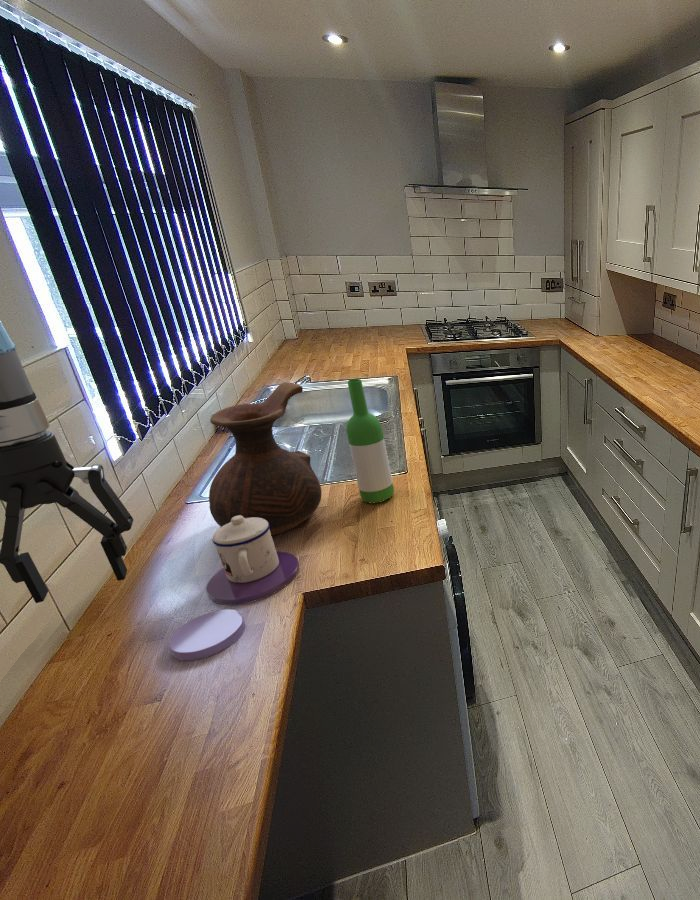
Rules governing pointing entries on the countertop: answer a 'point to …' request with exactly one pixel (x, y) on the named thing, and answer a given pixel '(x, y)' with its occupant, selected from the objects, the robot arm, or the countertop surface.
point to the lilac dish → (207, 634)
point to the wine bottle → (368, 449)
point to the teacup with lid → (246, 549)
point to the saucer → (253, 583)
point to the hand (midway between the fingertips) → (83, 585)
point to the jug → (263, 468)
